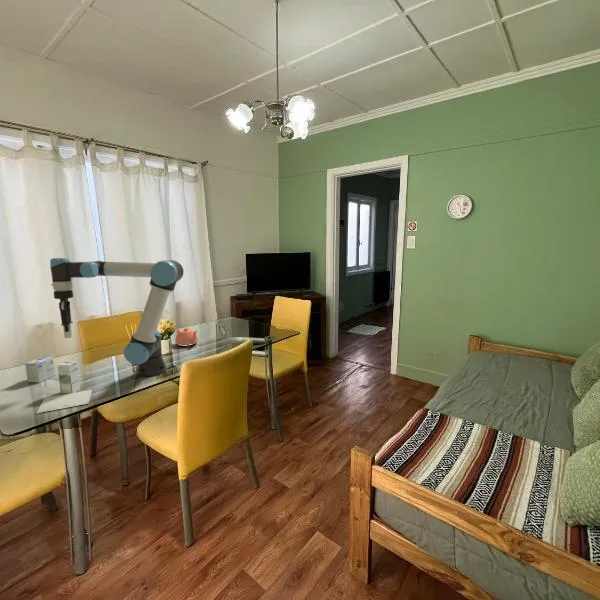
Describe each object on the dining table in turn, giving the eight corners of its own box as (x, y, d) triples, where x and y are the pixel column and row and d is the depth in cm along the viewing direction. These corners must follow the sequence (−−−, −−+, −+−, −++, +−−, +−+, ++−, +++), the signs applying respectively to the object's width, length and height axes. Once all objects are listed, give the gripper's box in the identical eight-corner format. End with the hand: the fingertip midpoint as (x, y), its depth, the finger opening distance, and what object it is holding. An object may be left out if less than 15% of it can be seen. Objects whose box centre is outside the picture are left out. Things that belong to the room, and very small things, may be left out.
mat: (92, 390, 155) (91, 389, 155) (88, 404, 141) (88, 403, 141) (45, 398, 147) (45, 397, 146) (36, 414, 133) (36, 413, 132)
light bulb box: (44, 375, 175) (41, 356, 173) (56, 375, 175) (53, 356, 173) (27, 383, 165) (24, 363, 163) (39, 383, 164) (37, 363, 163)
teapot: (206, 344, 231) (205, 328, 229) (188, 350, 219) (187, 332, 217) (186, 340, 243) (185, 324, 241) (169, 345, 231) (167, 328, 229)
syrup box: (80, 388, 157) (77, 360, 155) (72, 394, 151) (69, 364, 149) (68, 389, 157) (65, 360, 155) (60, 394, 151) (56, 364, 149)
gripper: (56, 289, 161) (62, 334, 164) (50, 292, 148) (56, 341, 151) (74, 288, 164) (79, 333, 168) (69, 291, 151) (75, 339, 155)
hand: (68, 337), depth 159 cm, fingers closed
